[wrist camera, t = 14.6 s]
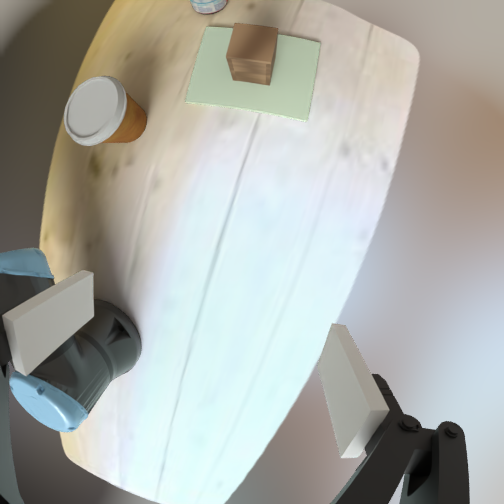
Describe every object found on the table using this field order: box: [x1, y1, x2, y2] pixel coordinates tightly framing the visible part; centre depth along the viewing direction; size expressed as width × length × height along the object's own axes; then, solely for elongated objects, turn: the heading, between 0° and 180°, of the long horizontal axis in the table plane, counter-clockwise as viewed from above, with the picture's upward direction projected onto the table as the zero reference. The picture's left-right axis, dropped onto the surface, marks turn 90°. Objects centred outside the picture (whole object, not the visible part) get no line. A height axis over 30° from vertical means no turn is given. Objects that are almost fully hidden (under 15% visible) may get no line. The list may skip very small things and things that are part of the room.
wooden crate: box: [226, 23, 278, 86], centre depth 31 cm, size 5×5×9 cm
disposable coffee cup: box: [64, 76, 147, 146], centre depth 33 cm, size 10×10×12 cm
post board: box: [185, 27, 321, 122], centre depth 33 cm, size 18×14×7 cm
